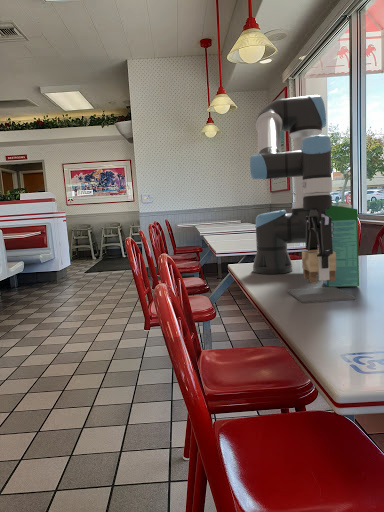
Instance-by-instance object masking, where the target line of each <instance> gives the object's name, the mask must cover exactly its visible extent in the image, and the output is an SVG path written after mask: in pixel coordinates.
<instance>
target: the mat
mask: <svg viewBox="0 0 384 512" xmlns="http://www.w3.org/2000/svg"><path fill="white" fill-rule="evenodd" d="M287 292H288V293H289V295H290V294H291V295H292V296H293V297H294V298H296V299H297V300H298V301H299V302H300V303H302V304H307V303H319V302H320V303H321V302H323V303H324V302H338V301H348V300H349V301H350V300H351V301H352V300H356V296H354V295H352V294H349V293H348V292H346V291H344V290H342V289H339V288H338V287H337V286H336V287H327V286H321V287H319V286H317V287H305V288H291V289H289V288H288V289H287Z"/></svg>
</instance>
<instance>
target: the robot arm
mask: <svg viewBox="0 0 384 512" xmlns="http://www.w3.org/2000/svg"><path fill="white" fill-rule="evenodd" d="M323 99H324V98H323V97H322V96H321V95H320V94H319V95H318V94H314V95H313V94H312V95H310V94H309V95H302V96H296V97H288V98H278V99H275V100H273V101H271V102H270V103H268V104H266V105H265V106H264V107H263V108H262V109H261V110H260V112H259V113H258V115H257V116H256V121H255V129H256V132H257V152H256V153H257V154H252V155H250V158H249V167H250V168H249V169H250V177H251V179H252V180H263V181H265V180H270V179H283V178H294V190H295V195H294V196H295V204H294V205H293V206H292V207H291V212H289V213H288V212H287V211H286V209H282V210H274V211H268V212H264V213H260V214H258V215H257V216H256V217H255V226H254V227H255V236H256V237H255V238H256V239H255V240H256V254H255V257H254V261H253V264H252V272H254V273H255V274H262V275H278V274H285V273H287V274H288V273H291V272H292V271H293V264H292V261H291V258H290V255H289V252H288V244H289V245H290V244H305V251H308V250H319V254H318V255H317V257H318V272H317V277H318V281H319V282H320V281H323V280H329V256H330V254H333V247H332V231H331V221H332V218H331V217H327V214H326V209H330V208H332V205H333V196H332V195H331V193H332V192H333V178H332V142H331V137H330V136H329V135H327V134H326V135H324V134H322V131H323V130H322V129H324V128H325V127H326V126H327V112H326V107H325V102H324V100H323ZM281 132H289V134H288V135H289V137H290V139H291V138H292V140H293V150H291V151H282V142H281Z"/></svg>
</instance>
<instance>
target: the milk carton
mask: <svg viewBox="0 0 384 512" xmlns="http://www.w3.org/2000/svg"><path fill="white" fill-rule="evenodd" d="M352 206H353V205H351V204H350V203H349V204H348V203H342V202H339V203H338V205H336V204H332V208H330V209H326V214H327V217H331V218H332V221H331V231H332V247H333V251H334V252H336V270H335V281H331V282H329V281H327V280H322V281H323V284H324V285H325V287H336V288H337V287H359V286H360V268H359V267H360V266H359V265H360V263H359V261H360V259H359V221H358V220H359V217H358V216H359V215H358V213H359V212H358V211H359V210H358V208H353V207H352Z"/></svg>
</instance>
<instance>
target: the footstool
mask: <svg viewBox="0 0 384 512" xmlns="http://www.w3.org/2000/svg"><path fill="white" fill-rule="evenodd" d="M318 254H319V250H302V251H301V267H302V272H303V277H302V278H303V280H309V281H308V282H309V283H311V284H314V283H318V275H317V272H318V257H317V255H318ZM335 270H336V252H334V251H333V254H330V256H329V280H327V281H329V282H331V281H335Z"/></svg>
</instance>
